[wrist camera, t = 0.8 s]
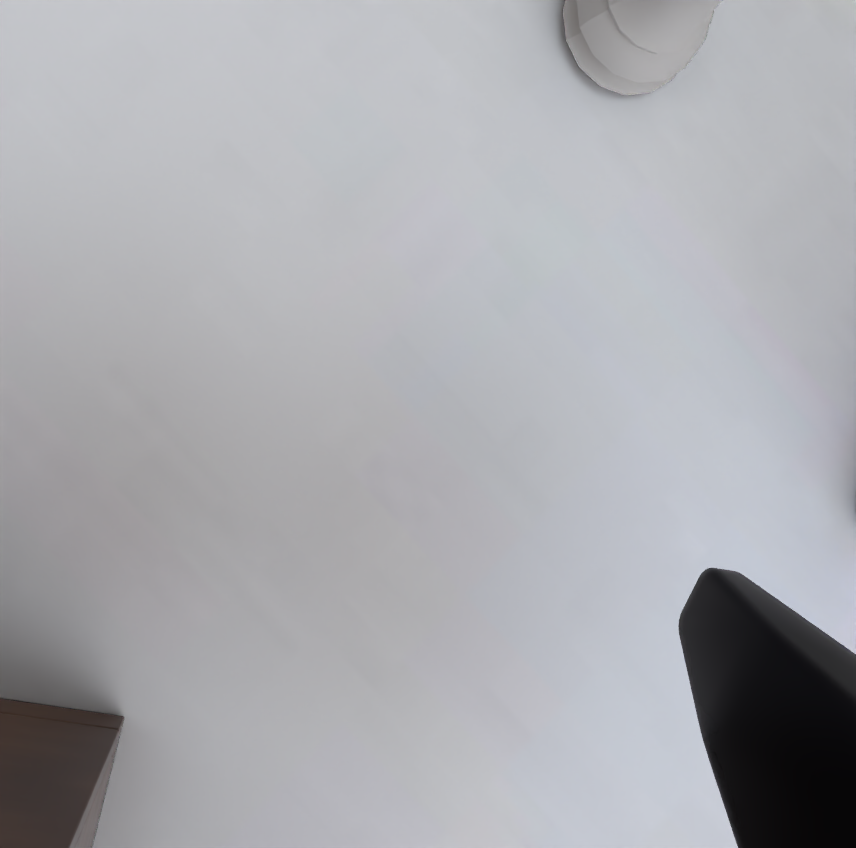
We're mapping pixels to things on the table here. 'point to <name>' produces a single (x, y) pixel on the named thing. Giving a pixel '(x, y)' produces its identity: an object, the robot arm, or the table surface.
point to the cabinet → (53, 774)
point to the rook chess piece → (635, 39)
